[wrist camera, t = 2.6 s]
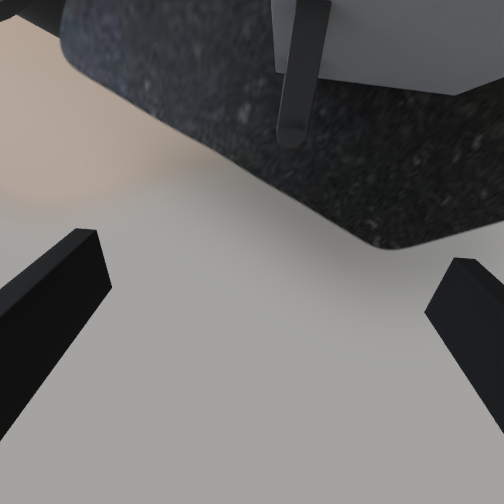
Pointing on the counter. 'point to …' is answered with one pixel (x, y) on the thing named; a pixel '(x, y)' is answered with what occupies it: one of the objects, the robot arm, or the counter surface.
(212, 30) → the counter surface
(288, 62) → the oven door
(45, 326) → the robot arm
